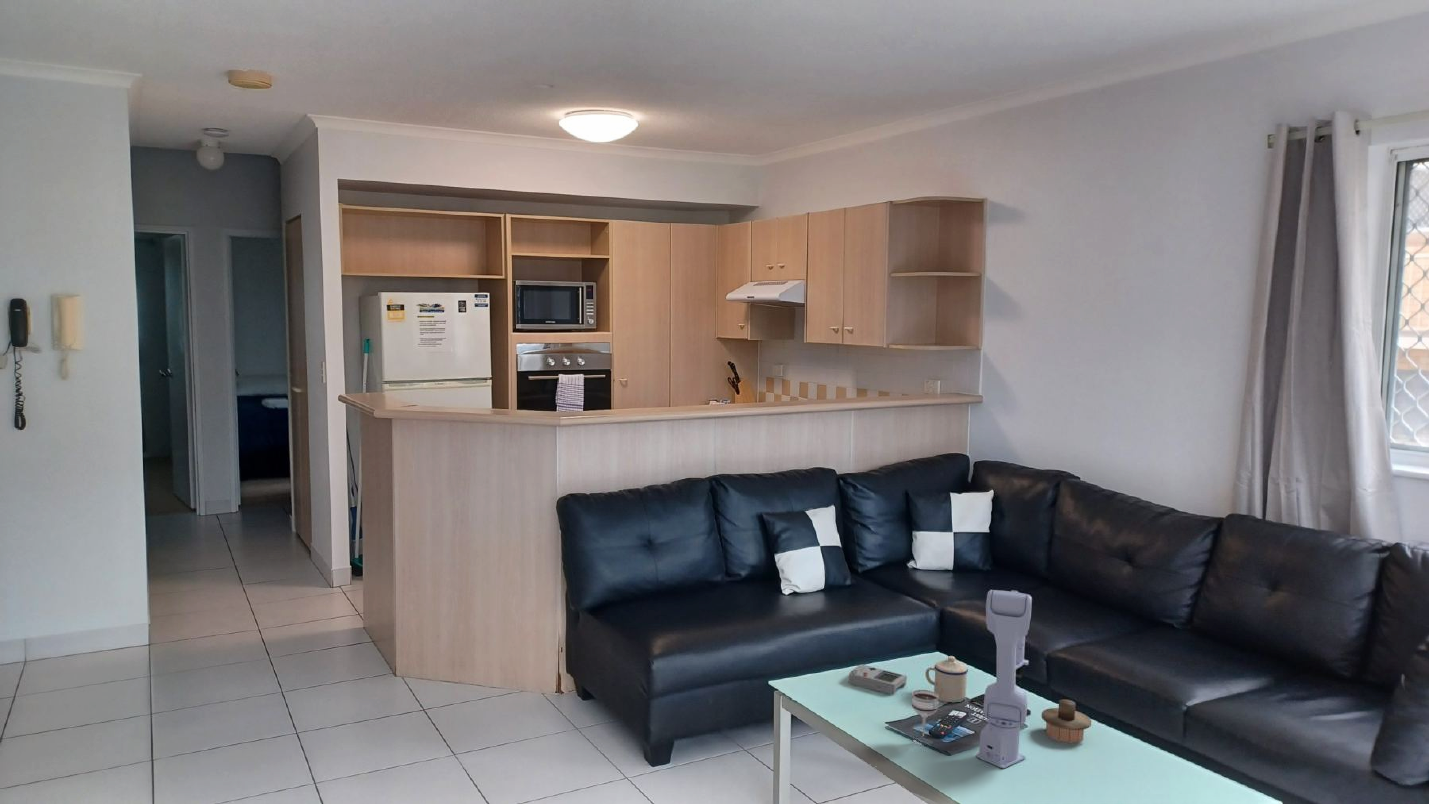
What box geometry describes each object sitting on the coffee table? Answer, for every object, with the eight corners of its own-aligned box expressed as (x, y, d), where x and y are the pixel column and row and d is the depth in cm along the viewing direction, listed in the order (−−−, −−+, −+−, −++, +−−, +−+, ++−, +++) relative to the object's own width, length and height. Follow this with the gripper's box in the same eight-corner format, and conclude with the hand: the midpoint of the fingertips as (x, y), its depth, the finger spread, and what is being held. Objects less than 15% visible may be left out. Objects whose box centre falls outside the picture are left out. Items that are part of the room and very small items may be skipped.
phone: (986, 692, 270) (1032, 710, 259) (985, 696, 271) (1032, 715, 259) (968, 699, 266) (1015, 717, 254) (968, 703, 266) (1014, 722, 254)
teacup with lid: (971, 696, 269) (973, 656, 268) (958, 706, 262) (960, 665, 261) (931, 685, 276) (933, 646, 275) (918, 695, 269) (919, 655, 268)
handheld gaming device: (860, 675, 284) (860, 663, 284) (906, 687, 276) (907, 674, 275) (846, 684, 277) (846, 672, 276) (893, 697, 268) (894, 684, 268)
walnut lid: (1075, 734, 237) (1076, 716, 237) (1032, 717, 247) (1033, 700, 246) (1100, 722, 245) (1101, 704, 244) (1057, 706, 254) (1058, 689, 254)
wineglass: (942, 741, 240) (944, 695, 239) (927, 749, 235) (930, 702, 234) (918, 732, 245) (920, 687, 244) (904, 740, 240) (906, 694, 239)
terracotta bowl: (1070, 745, 240) (1071, 730, 239) (1038, 732, 247) (1039, 717, 246) (1090, 736, 245) (1091, 721, 245) (1058, 724, 252) (1059, 709, 252)
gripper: (1027, 653, 237) (1024, 706, 238) (1031, 636, 251) (1028, 686, 252) (998, 649, 240) (995, 701, 241) (1003, 632, 253) (1000, 681, 254)
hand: (1010, 693), depth 247 cm, fingers open, 7 cm apart
